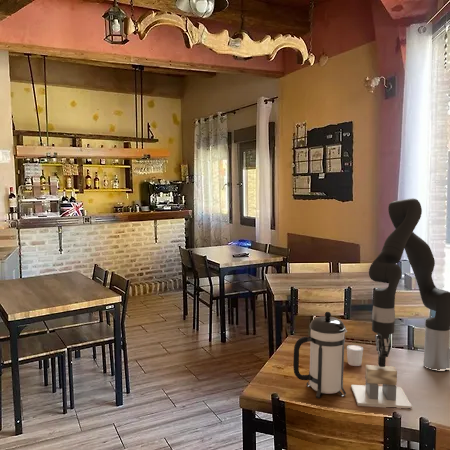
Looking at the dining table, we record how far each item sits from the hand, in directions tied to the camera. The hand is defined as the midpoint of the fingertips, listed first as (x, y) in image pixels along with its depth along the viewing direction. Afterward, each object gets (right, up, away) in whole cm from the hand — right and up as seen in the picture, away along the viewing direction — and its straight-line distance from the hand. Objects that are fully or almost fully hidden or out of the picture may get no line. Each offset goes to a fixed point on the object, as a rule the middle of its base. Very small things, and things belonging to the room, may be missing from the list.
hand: (381, 365), depth 157 cm
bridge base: (0, -12, +1) cm, 12 cm away
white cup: (0, -9, +31) cm, 33 cm away
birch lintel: (0, -6, +1) cm, 6 cm away
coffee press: (-20, -12, +6) cm, 24 cm away
